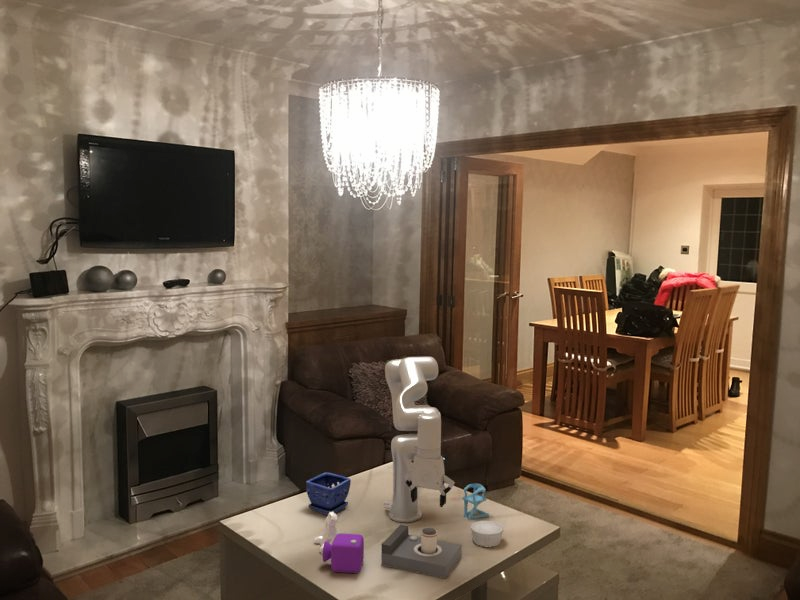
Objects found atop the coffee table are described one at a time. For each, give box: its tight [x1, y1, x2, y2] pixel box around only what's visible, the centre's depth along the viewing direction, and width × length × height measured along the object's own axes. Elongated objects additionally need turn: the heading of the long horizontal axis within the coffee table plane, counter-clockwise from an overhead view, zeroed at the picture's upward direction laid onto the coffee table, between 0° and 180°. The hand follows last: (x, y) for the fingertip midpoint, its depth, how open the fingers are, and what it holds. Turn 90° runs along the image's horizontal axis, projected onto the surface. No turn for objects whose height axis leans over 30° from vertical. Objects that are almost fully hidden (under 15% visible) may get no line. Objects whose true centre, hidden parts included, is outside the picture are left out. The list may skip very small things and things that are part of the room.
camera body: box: [380, 524, 462, 580], centre depth 214 cm, size 22×16×7 cm
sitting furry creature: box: [314, 512, 340, 553], centre depth 223 cm, size 10×9×12 cm
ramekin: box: [470, 520, 504, 548], centre depth 228 cm, size 11×11×5 cm
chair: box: [462, 483, 490, 520], centre depth 249 cm, size 8×8×12 cm
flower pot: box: [305, 472, 352, 516], centre depth 254 cm, size 13×13×12 cm
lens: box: [420, 527, 438, 554], centre depth 213 cm, size 5×5×9 cm
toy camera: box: [320, 532, 365, 574], centre depth 209 cm, size 11×14×10 cm
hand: (428, 503), depth 212 cm, fingers open, 9 cm apart
